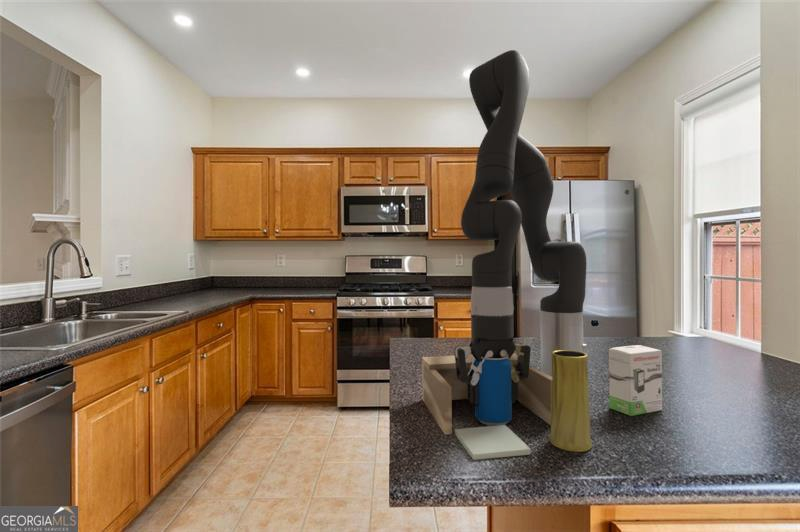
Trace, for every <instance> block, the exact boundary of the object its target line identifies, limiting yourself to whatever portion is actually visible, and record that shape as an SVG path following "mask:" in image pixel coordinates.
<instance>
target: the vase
mask: <svg viewBox="0 0 800 532" xmlns="http://www.w3.org/2000/svg"><path fill="white" fill-rule="evenodd" d="M588 359H589V357H588V353H587V354H586V353H584V352H579V351H573V350H556V351H553V352H552V409H551V425H550V435H549V442H550V443H551V444H552V445H553V446H554V447H556V448H558V449H560V450H562V451H566V452H573V453H584V452H588V451H589V450H591V449H592V447H593V443H592V439H591V415H590V397H589V395H590V393H589V375H588V374H589V373H588V372H589V371H588V370H589V369H587V368H588Z"/></svg>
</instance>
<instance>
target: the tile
mask: <svg viewBox="0 0 800 532" xmlns="http://www.w3.org/2000/svg"><path fill="white" fill-rule="evenodd" d="M454 434H455V437H457V439H458V440H459V442H460V443H461V445H462V446H463V448H464V450H465V451H466V452H467V453H468V456H470V458H472V460H473V461H477V460H487V459H496V458H498V459H499V458H506V457H517V456H519V457H520V456H528V455H531V454H532V448H530V447H529V446H528V445H527V444H526V443H525V442H524V441H523V440H522V439H521V438H520V437H519V436H518V435H516V433H514V431H512V430H511V429H510V428H509V427H508V426H507V424H506V425H498V426H488V425H485V426H478V427H477V426H476V427H464V428H454Z"/></svg>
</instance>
